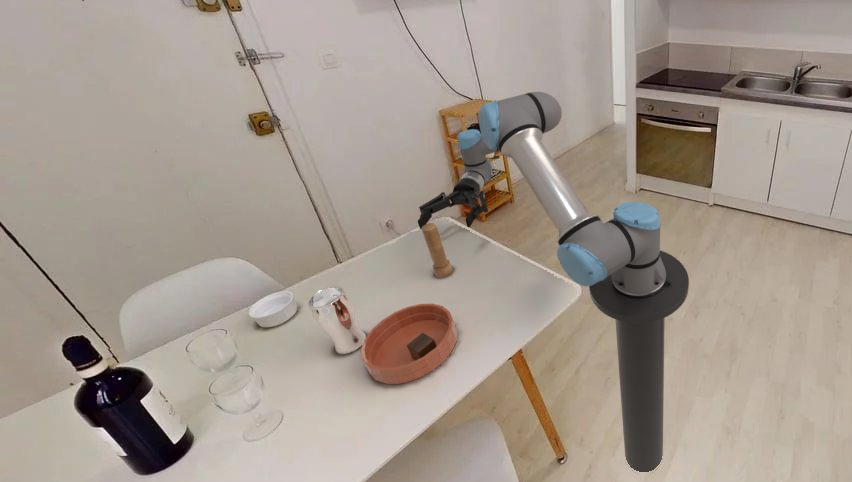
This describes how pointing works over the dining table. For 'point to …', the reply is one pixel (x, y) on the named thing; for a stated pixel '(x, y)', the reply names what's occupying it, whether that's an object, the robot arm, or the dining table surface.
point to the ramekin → (274, 309)
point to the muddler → (436, 251)
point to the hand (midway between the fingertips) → (443, 224)
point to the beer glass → (337, 318)
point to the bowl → (396, 331)
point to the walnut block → (421, 346)
